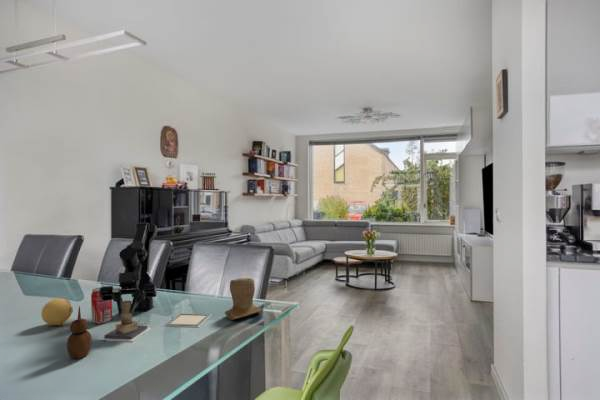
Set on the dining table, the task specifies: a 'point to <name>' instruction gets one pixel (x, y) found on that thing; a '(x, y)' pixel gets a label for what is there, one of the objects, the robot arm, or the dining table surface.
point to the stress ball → (57, 311)
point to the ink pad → (126, 335)
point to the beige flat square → (188, 320)
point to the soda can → (100, 308)
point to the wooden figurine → (79, 338)
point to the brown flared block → (242, 298)
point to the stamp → (126, 319)
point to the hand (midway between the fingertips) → (125, 313)
